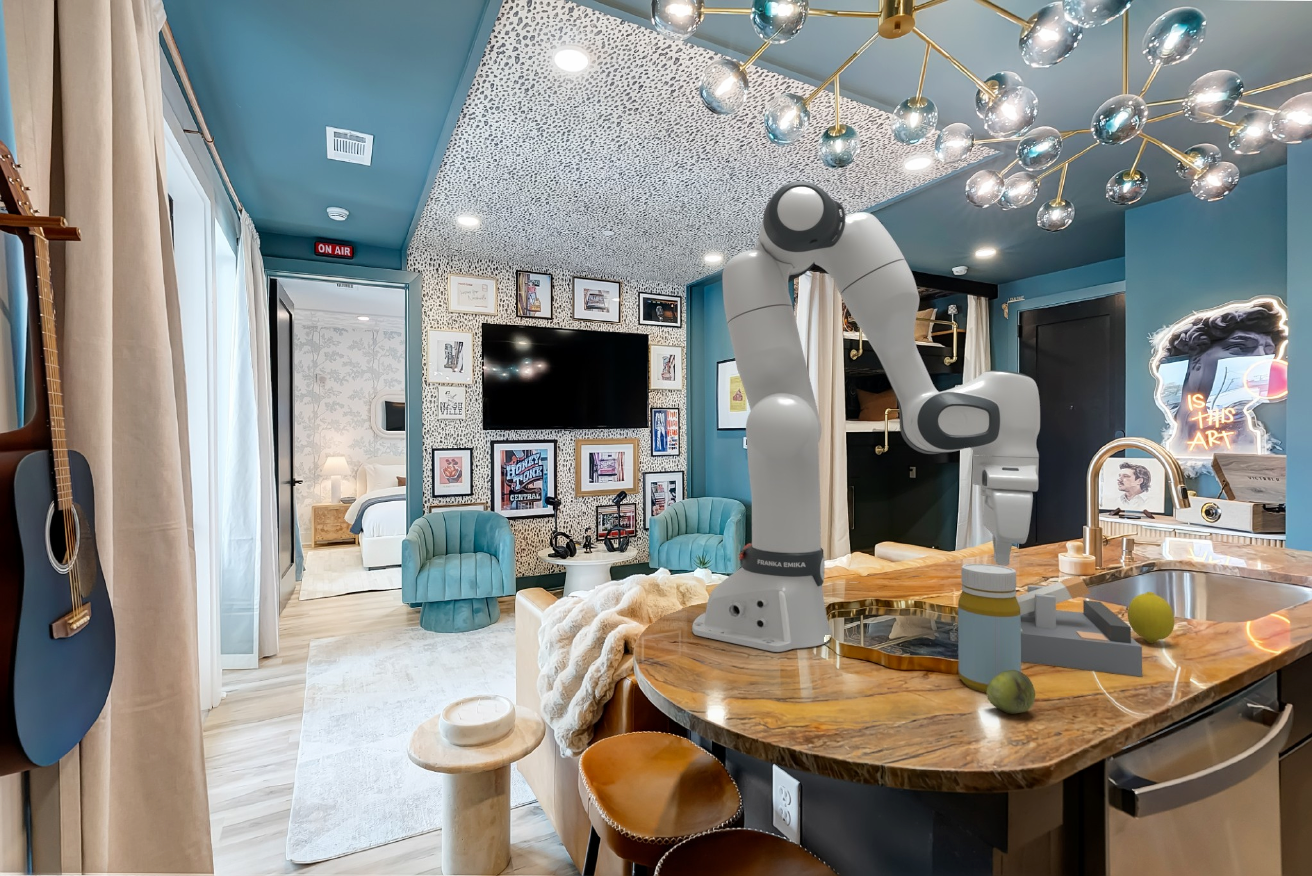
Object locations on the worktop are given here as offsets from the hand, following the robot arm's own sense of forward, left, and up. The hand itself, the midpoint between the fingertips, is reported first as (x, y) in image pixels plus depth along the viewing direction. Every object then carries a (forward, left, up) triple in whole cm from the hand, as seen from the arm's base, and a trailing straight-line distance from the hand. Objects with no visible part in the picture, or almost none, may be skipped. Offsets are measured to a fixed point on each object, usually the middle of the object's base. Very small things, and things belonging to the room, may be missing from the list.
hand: (1001, 563), depth 91 cm
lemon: (+21, +9, -13) cm, 26 cm away
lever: (+5, 0, -5) cm, 7 cm away
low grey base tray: (+5, 0, -12) cm, 14 cm away
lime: (-2, -27, -13) cm, 30 cm away
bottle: (-4, -19, -13) cm, 23 cm away
